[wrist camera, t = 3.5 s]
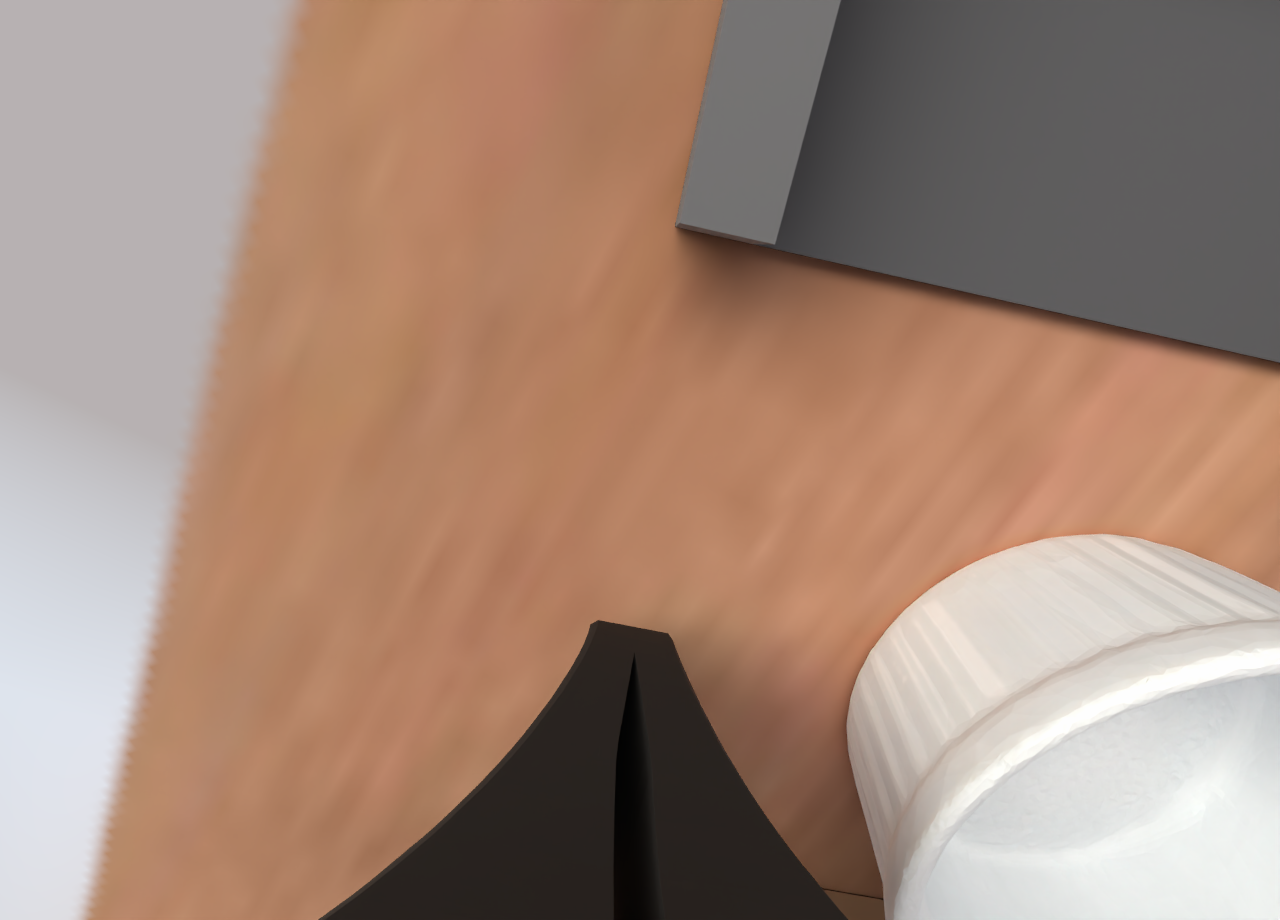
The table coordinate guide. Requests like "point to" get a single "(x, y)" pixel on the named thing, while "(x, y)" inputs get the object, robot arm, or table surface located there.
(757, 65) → the grey e-shaped block
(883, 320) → the table surface
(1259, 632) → the ramekin
